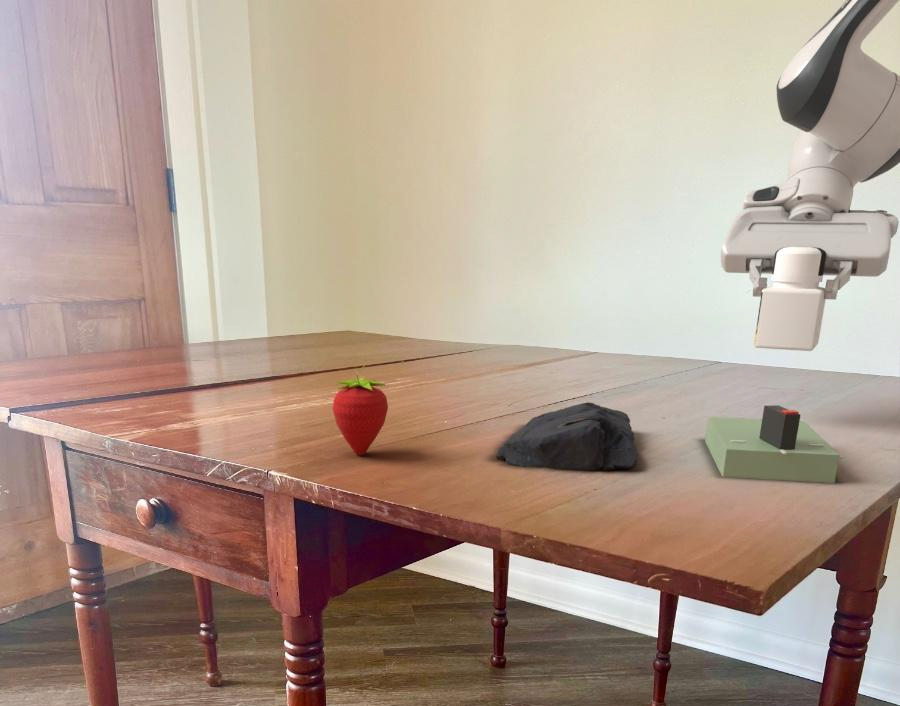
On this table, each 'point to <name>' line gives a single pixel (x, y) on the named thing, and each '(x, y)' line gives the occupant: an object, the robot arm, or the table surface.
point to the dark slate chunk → (574, 440)
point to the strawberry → (360, 412)
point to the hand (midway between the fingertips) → (793, 294)
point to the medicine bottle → (792, 301)
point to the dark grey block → (779, 426)
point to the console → (769, 452)
